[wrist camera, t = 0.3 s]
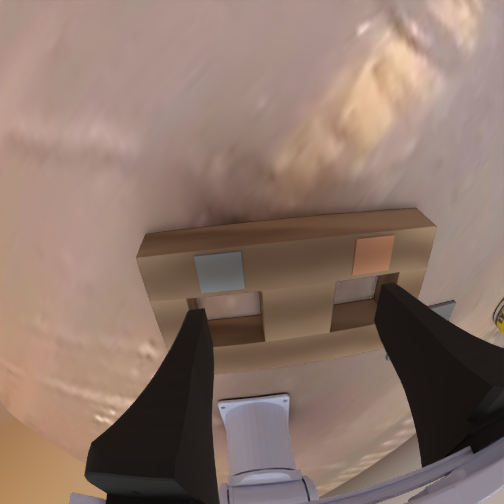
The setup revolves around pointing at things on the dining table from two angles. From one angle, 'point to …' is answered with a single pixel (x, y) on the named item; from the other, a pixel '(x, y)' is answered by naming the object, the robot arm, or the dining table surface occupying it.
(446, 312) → the mat
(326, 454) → the dining table surface
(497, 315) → the supplement bottle
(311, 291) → the socket board
